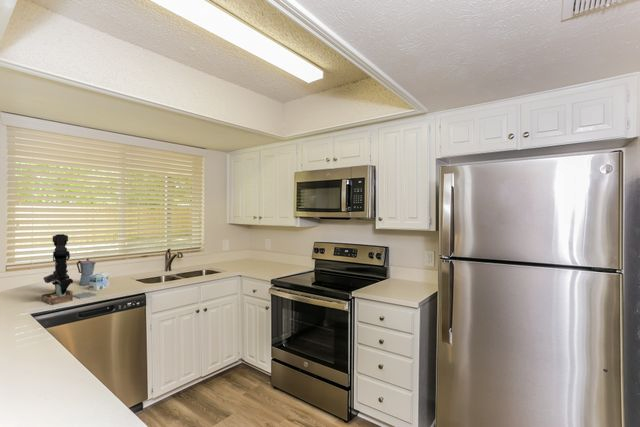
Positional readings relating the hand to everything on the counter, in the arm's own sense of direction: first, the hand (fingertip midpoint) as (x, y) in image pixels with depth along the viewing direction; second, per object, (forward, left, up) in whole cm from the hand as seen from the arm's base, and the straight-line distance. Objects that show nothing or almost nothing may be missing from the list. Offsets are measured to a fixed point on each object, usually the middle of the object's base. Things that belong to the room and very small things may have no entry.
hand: (60, 293), depth 206 cm
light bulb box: (-13, +28, -4) cm, 31 cm away
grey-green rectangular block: (0, 0, -4) cm, 4 cm away
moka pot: (-36, +29, -4) cm, 46 cm away
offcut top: (0, -4, -2) cm, 4 cm away
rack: (0, -2, -4) cm, 5 cm away
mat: (0, +13, -4) cm, 14 cm away
